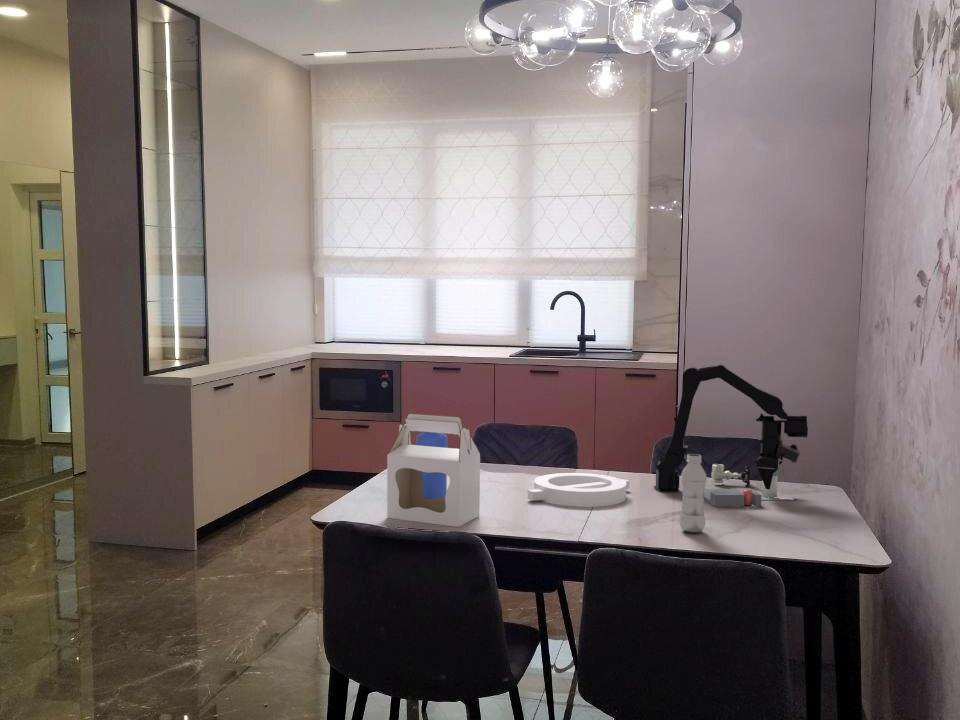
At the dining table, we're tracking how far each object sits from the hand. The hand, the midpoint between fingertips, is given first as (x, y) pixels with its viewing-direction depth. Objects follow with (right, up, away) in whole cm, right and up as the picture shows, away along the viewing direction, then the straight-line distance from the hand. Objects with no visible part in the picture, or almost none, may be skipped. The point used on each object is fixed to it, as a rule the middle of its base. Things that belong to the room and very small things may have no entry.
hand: (769, 486), depth 260 cm
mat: (0, -3, 0) cm, 3 cm away
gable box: (-102, -4, -29) cm, 106 cm away
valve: (-7, -2, +17) cm, 19 cm away
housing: (-15, -3, -4) cm, 16 cm away
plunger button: (-11, -3, -11) cm, 16 cm away
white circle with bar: (-59, -3, -1) cm, 59 cm away
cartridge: (0, -3, 0) cm, 3 cm away
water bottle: (-104, -3, -8) cm, 104 cm away
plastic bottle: (-34, -6, -42) cm, 54 cm away
